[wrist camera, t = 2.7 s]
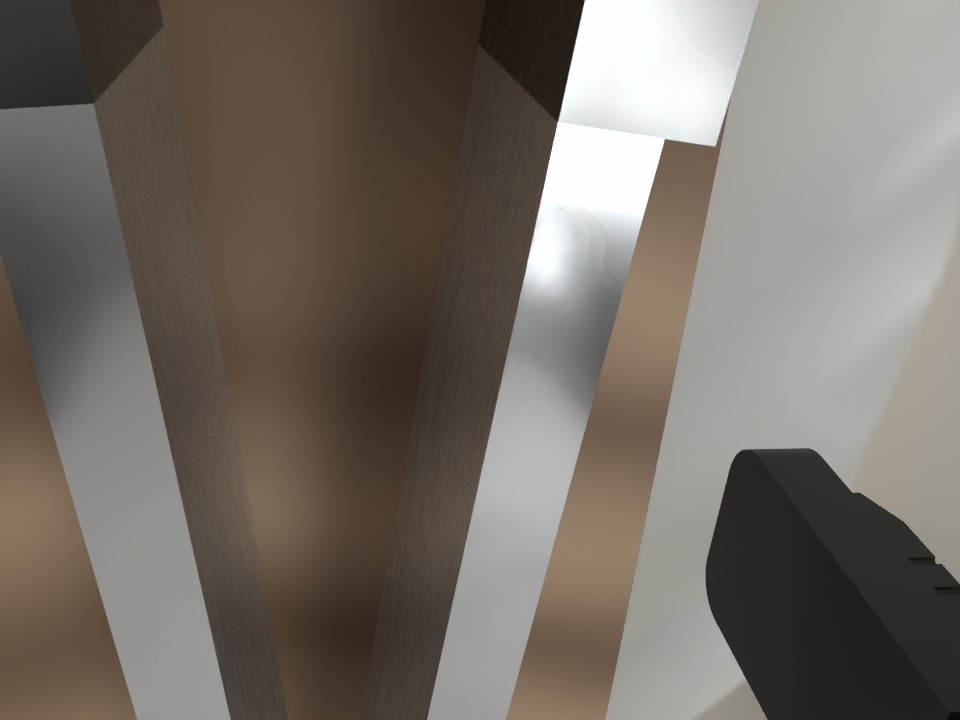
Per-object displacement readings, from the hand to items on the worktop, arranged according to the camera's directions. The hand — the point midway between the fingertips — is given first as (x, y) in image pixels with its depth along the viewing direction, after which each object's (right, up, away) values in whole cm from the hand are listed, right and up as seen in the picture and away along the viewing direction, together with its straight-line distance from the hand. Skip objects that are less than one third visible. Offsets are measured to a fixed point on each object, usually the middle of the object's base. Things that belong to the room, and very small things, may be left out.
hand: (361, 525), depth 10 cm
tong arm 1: (+1, +1, +7) cm, 8 cm away
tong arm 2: (-4, 0, +7) cm, 8 cm away
